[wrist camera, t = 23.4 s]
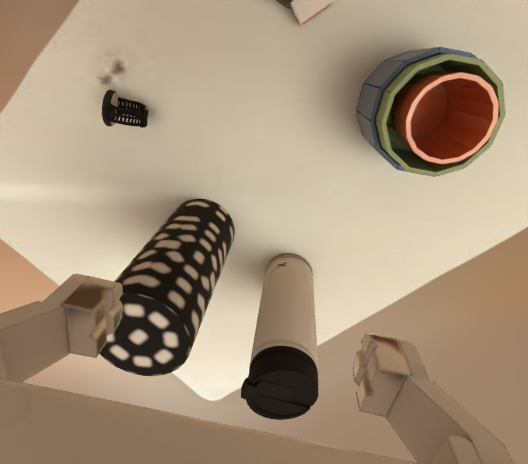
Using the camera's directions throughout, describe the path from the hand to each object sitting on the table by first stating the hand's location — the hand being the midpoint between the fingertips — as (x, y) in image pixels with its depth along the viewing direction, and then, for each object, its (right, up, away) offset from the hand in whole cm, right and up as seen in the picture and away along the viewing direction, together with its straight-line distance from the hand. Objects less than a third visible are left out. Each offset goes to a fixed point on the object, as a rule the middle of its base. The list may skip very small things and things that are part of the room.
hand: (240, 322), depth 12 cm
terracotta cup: (+16, +15, +23) cm, 32 cm away
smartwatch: (-14, +17, +28) cm, 36 cm away
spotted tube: (-7, +3, +34) cm, 35 cm away
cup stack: (+16, +16, +25) cm, 34 cm away
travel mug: (+4, -2, +35) cm, 36 cm away
